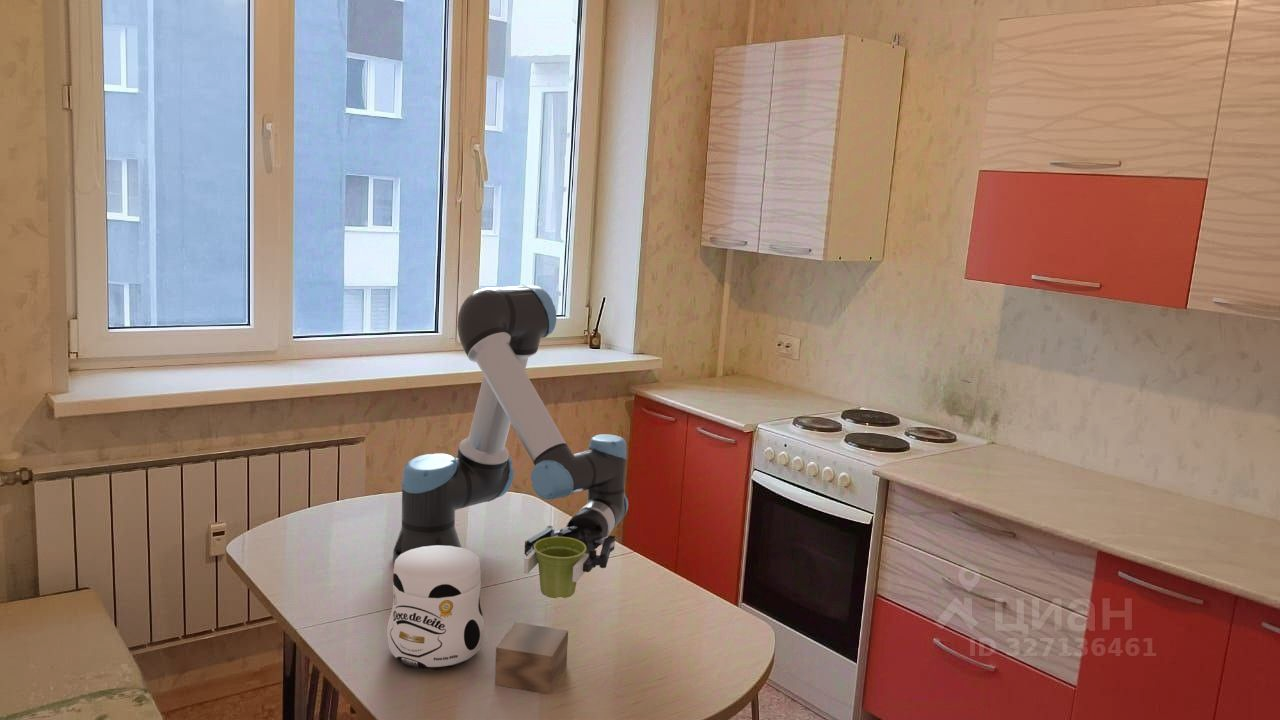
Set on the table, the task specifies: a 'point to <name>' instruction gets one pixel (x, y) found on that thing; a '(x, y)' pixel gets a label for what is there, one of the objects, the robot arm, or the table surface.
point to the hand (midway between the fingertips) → (550, 570)
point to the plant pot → (558, 564)
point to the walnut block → (531, 657)
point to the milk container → (436, 607)
